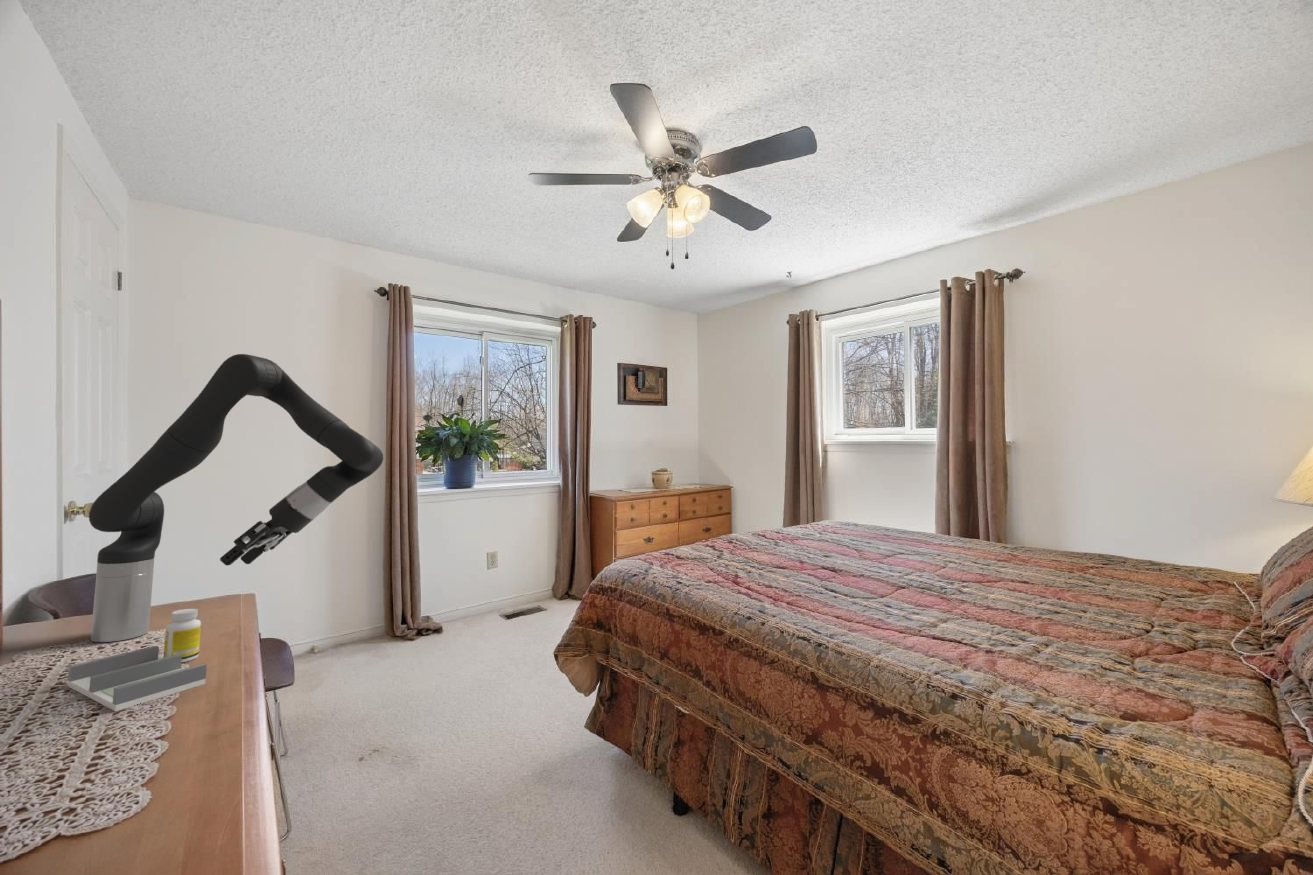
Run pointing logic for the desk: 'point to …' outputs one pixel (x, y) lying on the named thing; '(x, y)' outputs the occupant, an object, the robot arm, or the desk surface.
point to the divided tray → (133, 678)
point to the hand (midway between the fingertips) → (234, 562)
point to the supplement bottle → (183, 635)
